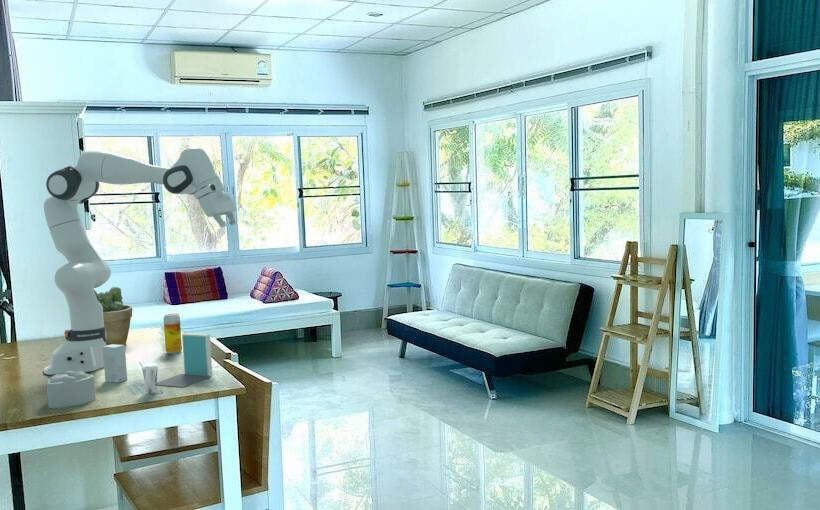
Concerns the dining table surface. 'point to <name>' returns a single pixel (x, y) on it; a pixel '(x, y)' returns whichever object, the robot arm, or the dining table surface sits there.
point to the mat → (182, 380)
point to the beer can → (172, 333)
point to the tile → (197, 354)
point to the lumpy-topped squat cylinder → (70, 389)
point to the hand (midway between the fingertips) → (228, 225)
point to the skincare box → (114, 363)
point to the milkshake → (150, 377)
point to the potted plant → (115, 316)
